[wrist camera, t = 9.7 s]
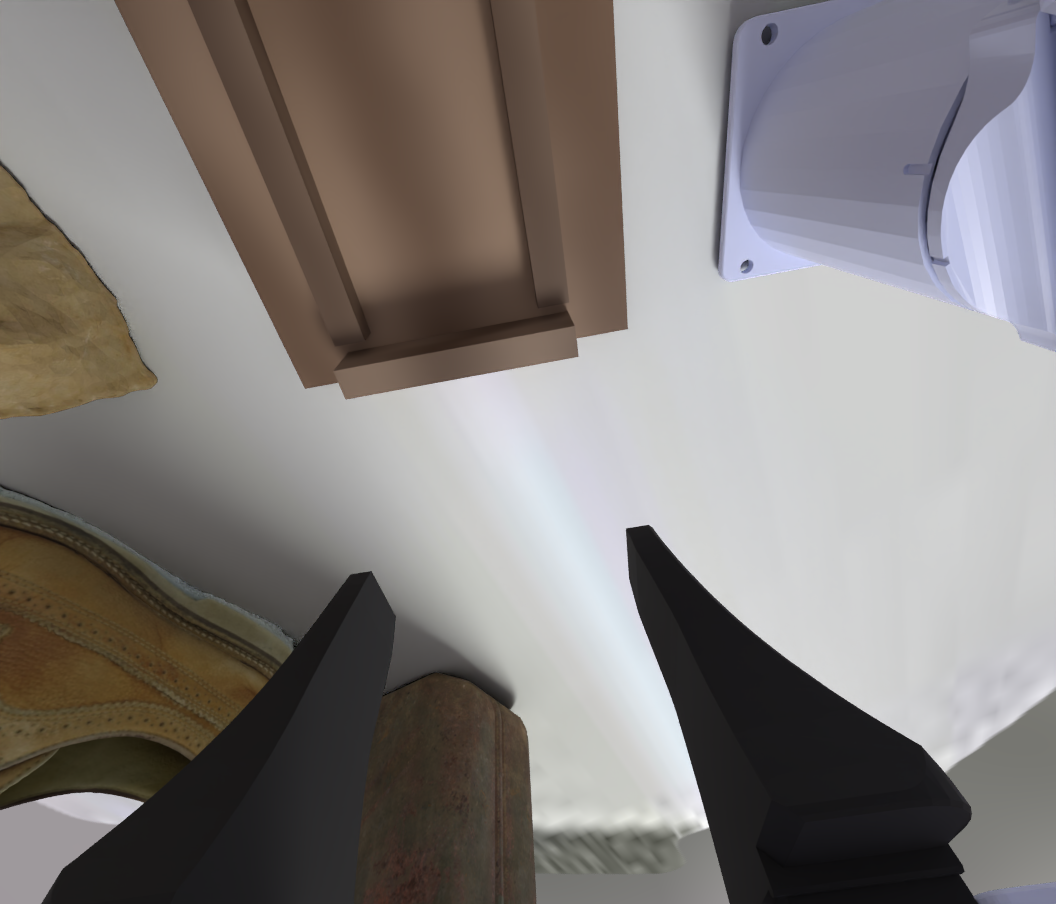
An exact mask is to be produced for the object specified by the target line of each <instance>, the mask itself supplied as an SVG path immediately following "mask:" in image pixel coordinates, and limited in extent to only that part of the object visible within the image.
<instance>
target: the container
mask: <svg viewBox="0 0 1056 904" xmlns="http://www.w3.org/2000/svg"><path fill="white" fill-rule="evenodd" d="M354 904H536V884H535V864H534V844H533V824H532V804H531V785H530V765H529V745H528V736H527V731H526V728H525V726H524V724H523V722H522V720H521V718H520V717H518V716H517V715H516V714H514V713H513V712H512V711H510V710H509V709H508V708H506V707H505V706H503V705H502V704H501V703H499V702H498V701H497V700H495V699H494V698H492V697H491V696H490V695H488V694H486V693H485V692H484V691H483V690H481V689H480V688H478V687H477V686H476V685H474V684H473V683H471V682H470V681H468V680H464V679H460V678H457V677H453V676H449V675H445V674H441V673H437V672H435V673H433V674H431V675H428V676H426V677H424V678H422V679H420V680H417V681H415V682H413V683H411V684H409V685H407V686H405V687H402V688H400V689H398V690H396V691H394V692H392V693H389V694H387V695H385V696H383V697H382V700H381V704H380V709H379V713H378V717H377V722H376V726H375V731H374V735H373V740H372V745H371V750H370V756H369V763H368V770H367V778H366V785H365V792H364V801H363V810H362V819H361V828H360V837H359V847H358V859H357V870H356V882H355V895H354Z"/></svg>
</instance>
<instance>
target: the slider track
mask: <svg viewBox="0 0 1056 904" xmlns="http://www.w3.org/2000/svg"><path fill="white" fill-rule="evenodd" d="M114 1H115V3H116V5H117V7H118V9H119V11H120V13H121V15H122V17H123V19H124V21H125V23H126V25H127V27H128V30H129V32H130V34H131V36H132V38H133V40H134V42H135V44H136V46H137V48H138V50H139V52H140V54H141V56H142V58H143V60H144V62H145V64H146V66H147V68H148V70H149V72H150V74H151V76H152V78H153V80H154V82H155V84H156V86H157V89H158V91H159V93H160V95H161V97H162V99H163V101H164V103H165V105H166V107H167V109H168V111H169V113H170V115H171V117H172V119H173V121H174V123H175V125H176V127H177V129H178V131H179V133H180V135H181V137H182V139H183V141H184V143H185V145H186V148H187V150H188V152H189V154H190V156H191V158H192V160H193V162H194V164H195V166H196V168H197V170H198V172H199V174H200V176H201V178H202V180H203V182H204V184H205V186H206V188H207V190H208V192H209V194H210V196H211V198H212V200H213V202H214V204H215V207H216V209H217V211H218V213H219V215H220V217H221V219H222V221H223V223H224V225H225V227H226V229H227V231H228V233H229V235H230V237H231V239H232V241H233V243H234V245H235V247H236V249H237V251H238V253H239V255H240V257H241V259H242V261H243V263H244V266H245V268H246V270H247V272H248V274H249V276H250V278H251V280H252V282H253V284H254V286H255V288H256V290H257V292H258V294H259V296H260V298H261V300H262V302H263V304H264V306H265V308H266V310H267V312H268V314H269V316H270V318H271V320H272V322H273V325H274V327H275V329H276V331H277V333H278V335H279V337H280V339H281V341H282V343H283V345H284V347H285V349H286V351H287V353H288V355H289V357H290V359H291V361H292V363H293V365H294V367H295V369H296V371H297V373H298V375H299V377H300V379H301V381H302V384H303V386H304V388H305V389H306V388H312V387H317V386H322V385H328V384H333V383H339V385H340V388H341V390H342V392H343V394H344V397H345V399H351V398H356V397H362V396H367V395H372V394H378V393H383V392H389V391H394V390H400V389H405V388H411V387H416V386H421V385H427V384H432V383H438V382H443V381H449V380H454V379H460V378H465V377H470V376H476V375H481V374H487V373H492V372H498V371H503V370H509V369H514V368H519V367H525V366H530V365H536V364H541V363H547V362H552V361H557V360H563V359H568V358H574V357H578V349H577V340H576V338H581V337H587V336H592V335H597V334H603V333H608V332H614V331H619V330H624V329H628V325H627V303H626V281H625V258H624V236H623V214H622V192H621V169H620V147H619V125H618V103H617V80H616V58H615V36H614V14H613V0H114Z"/></svg>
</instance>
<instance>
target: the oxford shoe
mask: <svg viewBox="0 0 1056 904" xmlns="http://www.w3.org/2000/svg"><path fill="white" fill-rule="evenodd" d="M292 642H293V639H292V638H290V637H287V636H286V635H284V634H283V632H282V630H281V629H280V628H278V627H277V626H276V625H275V624H273V623H271V622H269V621H267V620H265V619H263V618H261V617H259V616H258V615H254V614H252V613H250V612H248V611H246V610H244V609H242V608H240V607H238V606H237V605H235V604H231V603H228V602H226V601H225V599H220V598H218V597H215V596H213V595H211V594H209V593H204V592H201V591H200V590H198V589H195V588H193V587H192V586H189V585H188V584H187V583H186V582H183V581H182V580H181V579H179V578H178V577H176V576H174V575H172V574H170V573H169V572H167V571H166V570H164V569H162V568H161V567H159V566H158V565H156V564H155V563H153V562H152V561H150V560H147V559H146V558H145V557H143V556H142V555H140V554H138V553H137V552H136V551H134V550H133V549H132V548H130V547H128V546H127V545H125V544H124V543H122V542H120V541H119V540H117V539H115V538H114V537H112V536H111V535H110V534H108V533H106V532H103V531H102V530H100V529H99V528H97V527H95V526H92V525H90V524H88V523H86V522H84V521H83V519H81V518H79V517H76V516H75V515H71V514H70V513H68V512H64V511H61V510H59V509H56V508H53V507H50V506H49V505H47V504H44V503H42V502H40V501H38V500H35V499H32V498H30V497H26V496H24V495H21V494H18V493H16V492H13V491H9V490H6V489H3V488H2V487H0V810H2V809H6V808H9V807H12V806H16V805H20V804H23V803H27V802H31V801H35V800H39V799H44V798H47V797H52V796H57V795H64V794H70V793H83V792H93V793H104V794H112V795H117V796H122V797H126V798H130V799H134V800H137V801H141V802H144V803H145V802H146V801H147V800H148V799H150V798H151V797H152V796H153V795H154V794H155V793H156V792H158V791H159V790H160V789H161V788H162V787H163V786H164V785H166V784H167V783H168V782H169V781H170V780H171V779H172V778H173V777H174V776H176V775H177V774H178V773H179V772H180V771H181V770H182V769H183V768H184V767H185V766H186V765H188V764H189V763H190V762H191V761H192V760H193V759H194V758H195V757H196V756H197V755H198V754H199V753H200V752H201V751H202V750H203V749H204V748H205V747H206V746H207V745H208V744H209V743H210V742H211V741H212V740H213V739H214V738H215V737H216V736H217V735H218V734H219V733H221V732H222V731H223V730H224V729H225V728H226V727H227V726H228V725H229V724H230V722H231V721H232V720H233V719H234V718H235V717H236V716H237V715H238V714H239V713H240V712H241V711H242V710H243V709H244V708H245V707H246V706H247V704H248V703H249V702H250V701H251V700H252V699H253V698H254V697H255V696H256V695H257V693H258V692H259V691H260V690H261V689H262V688H263V687H264V686H265V684H266V683H267V682H268V681H269V680H270V679H271V677H272V676H273V675H274V674H275V672H276V671H277V670H278V669H279V668H280V666H281V665H282V664H283V663H284V661H285V660H286V659H287V658H288V657H289V655H290V654H291V653H292V652H293V650H294V648H293V647H294V645H293V644H292Z"/></svg>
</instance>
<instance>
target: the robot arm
mask: <svg viewBox="0 0 1056 904" xmlns="http://www.w3.org/2000/svg"><path fill="white" fill-rule="evenodd" d="M765 26H768V27H769V28H770V29H771V33H772V36H771V40H770V42H769V43H768V45H764V43H763V42H762V38H761V35H762V31H763V29H764V28H765ZM746 260H748V261H749V265H748V267H747V268H746V270H744V271H742V272H741V270H740V267H741V264H742V263H743V262H744V261H746ZM818 265H825V266H828V267H831V268H834V269H838V270H841V271H844V272H847V273H851V274H854V275H857V276H861V277H864V278H867V279H870V280H874V281H877V282H880V283H884V284H887V285H890V286H893V287H897V288H900V289H903V290H906V291H910V292H913V293H916V294H920V295H923V296H926V297H929V298H933V299H936V300H939V301H942V302H946V303H949V304H952V305H956V306H959V307H962V308H965V309H969V310H972V311H976V312H979V313H982V314H985V315H989V316H992V317H995V318H998V319H1002V320H1005V321H1008V322H1010V323H1012V324H1013V325H1014V327H1015V328H1016V329H1017V331H1018V334H1019V337H1020V339H1021V341H1024V342H1027V343H1030V344H1033V345H1036V346H1039V347H1042V348H1046V349H1049V350H1052V351H1055V352H1056V0H830V1H826V2H821V3H816V4H811V5H807V6H802V7H797V8H793V9H788V10H783V11H778V12H774V13H769V14H764V15H760V16H755V17H753V18H751V19H749V20H747V21H745V22H744V23H743V24H742V25H741V26H740V27H739V28H738V30H737V32H736V34H735V37H734V42H733V53H732V68H731V83H730V99H729V114H728V129H727V145H726V160H725V175H724V191H723V206H722V221H721V237H720V252H719V267H718V271H719V275H720V277H721V278H722V279H724V280H726V281H731V282H733V281H738V280H744V279H749V278H754V277H760V276H765V275H770V274H776V273H781V272H786V271H792V270H797V269H802V268H807V267H813V266H818ZM626 536H627V552H628V568H629V580H630V584H631V587H632V591H633V595H634V598H635V602H636V606H637V609H638V613H639V616H640V618H641V621H642V623H643V626H644V629H645V631H646V634H647V636H648V639H649V641H650V644H651V646H652V649H653V652H654V654H655V657H656V659H657V662H658V664H659V667H660V669H661V672H662V674H663V677H664V680H665V682H666V685H667V687H668V690H669V692H670V695H671V698H672V701H673V704H674V707H675V709H676V713H677V716H678V719H679V723H680V726H681V730H682V733H683V736H684V740H685V743H686V746H687V750H688V753H689V757H690V760H691V764H692V767H693V771H694V774H695V778H696V781H697V785H698V788H699V792H700V795H701V799H702V802H703V806H704V810H705V813H706V817H707V820H708V824H709V828H710V831H711V835H712V838H713V842H714V846H715V850H716V853H717V857H718V861H719V865H720V868H721V872H722V876H723V880H724V884H725V887H726V891H727V895H728V899H729V903H730V904H1056V882H1050V883H1043V884H1035V885H1027V886H1020V887H1012V888H1004V889H997V890H992V891H987V892H984V893H980V894H977V895H975V896H973V895H972V893H971V892H970V890H969V889H968V887H967V886H966V884H965V883H964V881H963V880H962V878H961V876H960V875H959V874H962V873H963V872H964V869H963V865H962V864H961V862H960V861H959V859H958V858H957V856H956V855H955V853H954V852H953V850H952V849H951V847H950V846H949V844H948V843H949V842H950V841H951V840H952V839H953V838H954V837H955V836H956V835H957V834H958V833H959V832H960V831H962V830H963V829H964V828H965V827H966V826H967V824H968V822H969V821H970V820H971V815H972V813H971V807H970V805H969V804H968V802H967V801H966V800H965V798H964V797H963V796H962V795H961V793H960V792H959V790H958V789H957V788H956V786H955V785H954V784H953V782H952V781H951V780H950V779H949V777H948V776H947V775H946V774H945V772H944V771H943V770H942V769H941V768H940V767H939V765H938V764H937V763H936V762H935V761H934V760H933V759H932V758H931V756H930V755H929V754H928V753H927V752H926V751H925V750H924V748H923V747H922V746H921V745H919V744H917V743H916V742H914V741H912V740H910V739H909V738H907V737H905V736H904V735H902V734H900V733H898V732H897V731H895V730H893V729H892V728H890V727H888V726H887V725H885V724H883V723H882V722H880V721H878V720H877V719H875V718H874V717H872V716H870V715H869V714H867V713H865V712H864V711H862V710H861V709H859V708H858V707H856V706H854V705H853V704H851V703H850V702H848V701H847V700H845V699H844V698H842V697H841V696H839V695H838V694H836V693H834V692H833V691H831V690H830V689H828V688H827V687H826V686H824V685H823V684H821V683H820V682H819V681H817V680H816V679H814V678H813V677H812V676H810V675H809V674H807V673H806V672H804V671H803V670H802V669H800V668H799V667H797V666H796V665H795V664H793V663H792V662H790V661H789V660H788V659H786V658H785V657H784V656H782V655H781V654H780V653H778V652H777V651H776V650H775V649H773V648H772V647H771V646H770V645H768V644H767V643H766V642H764V641H763V640H762V639H761V638H759V637H758V636H757V635H756V634H755V633H753V632H752V631H751V630H750V629H749V628H747V627H746V626H745V625H744V624H743V623H742V622H740V621H739V620H738V619H737V618H736V617H735V616H734V615H733V614H731V613H730V612H729V611H728V610H727V609H726V608H725V607H724V606H723V605H722V604H721V603H720V602H719V601H718V600H716V599H715V598H714V597H713V596H712V595H711V594H710V593H709V592H708V591H707V590H706V589H705V588H704V587H703V586H702V585H701V584H700V583H699V582H698V580H697V579H696V578H695V577H694V576H693V575H692V574H691V573H690V572H689V571H688V570H687V569H686V568H685V567H684V566H683V565H682V563H681V562H680V561H679V560H678V559H677V558H676V557H675V555H674V554H673V553H672V552H671V551H670V550H669V548H668V547H667V546H666V545H665V544H664V542H663V541H662V540H661V539H660V537H659V536H658V535H657V533H656V532H655V531H654V529H653V528H652V527H651V526H649V525H645V526H639V527H633V528H627V529H626ZM395 618H396V616H395V614H394V613H393V611H392V609H391V607H390V605H389V603H388V601H387V599H386V598H385V596H384V594H383V592H382V590H381V588H380V586H379V584H378V583H377V581H376V579H375V577H374V575H373V573H372V571H369V572H364V573H358V574H352V575H350V576H349V577H348V579H347V580H346V581H345V583H344V584H343V585H342V587H341V588H340V589H339V591H338V592H337V593H336V595H335V596H334V597H333V599H332V600H331V602H330V603H329V604H328V606H327V607H326V608H325V610H324V611H323V612H322V614H321V615H320V616H319V618H318V619H317V621H316V622H315V623H314V624H313V626H312V627H311V628H310V630H309V631H308V632H307V634H306V635H305V636H304V638H303V639H302V640H301V642H300V643H299V644H298V646H297V647H296V648H295V649H294V650H293V652H292V653H291V654H290V655H289V657H288V658H287V659H286V660H285V661H284V663H283V664H282V665H281V666H280V668H279V669H278V670H277V671H276V672H275V674H274V675H273V676H272V677H271V679H270V680H269V681H268V682H267V683H266V684H265V686H264V687H263V688H262V689H261V690H260V691H259V692H258V693H257V695H256V696H255V697H254V698H253V699H252V700H251V701H250V702H249V703H248V704H247V706H246V707H245V708H244V709H243V710H242V711H241V712H240V713H239V714H238V715H237V716H236V717H235V718H234V719H233V720H232V721H231V722H230V724H229V725H228V726H227V727H226V728H225V729H224V730H223V731H222V732H221V733H219V734H218V735H217V736H216V737H215V738H214V739H213V740H212V741H211V742H210V743H209V744H208V745H207V746H206V747H205V748H204V749H203V750H202V751H201V752H200V753H199V754H198V755H197V756H196V757H195V758H194V759H193V760H192V761H191V762H190V763H189V764H188V765H186V766H185V767H184V768H183V769H182V770H181V771H180V772H179V773H178V774H177V775H176V776H174V777H173V778H172V779H171V780H170V781H169V782H168V783H167V784H166V785H164V786H163V787H162V788H161V789H160V790H159V791H158V792H156V793H155V794H154V795H153V796H152V797H151V798H150V799H148V800H147V801H146V802H145V803H144V804H143V805H141V806H140V807H139V808H138V809H137V810H136V811H134V812H133V813H132V814H131V815H130V816H128V817H127V818H126V819H125V820H124V821H122V822H121V823H120V824H119V825H117V826H116V827H115V828H114V829H112V830H111V831H110V832H109V833H107V834H106V835H105V836H104V837H102V838H101V839H100V840H99V841H98V842H96V843H95V844H94V845H93V846H91V847H90V848H89V849H88V850H86V851H85V852H84V853H83V854H81V855H80V856H79V857H78V858H76V859H75V860H74V861H72V862H71V863H70V864H69V865H67V866H66V867H65V868H63V870H62V871H61V873H60V874H59V876H58V877H57V879H56V881H55V883H54V884H53V886H52V887H51V889H50V890H49V892H48V894H47V895H46V897H45V899H44V900H43V902H42V904H354V895H355V882H356V870H357V859H358V847H359V837H360V828H361V819H362V810H363V801H364V792H365V785H366V778H367V770H368V763H369V756H370V750H371V745H372V740H373V735H374V731H375V726H376V722H377V717H378V713H379V709H380V704H381V700H382V696H383V691H384V687H385V683H386V678H387V674H388V669H389V665H390V660H391V655H392V649H393V640H394V630H395Z"/></svg>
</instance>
